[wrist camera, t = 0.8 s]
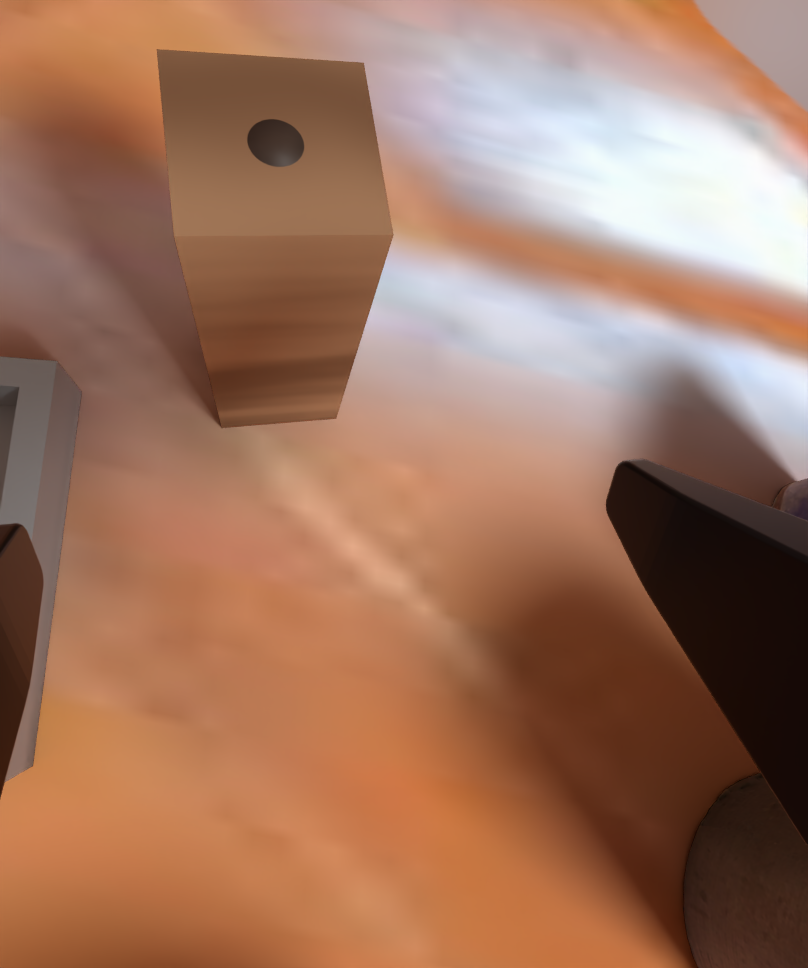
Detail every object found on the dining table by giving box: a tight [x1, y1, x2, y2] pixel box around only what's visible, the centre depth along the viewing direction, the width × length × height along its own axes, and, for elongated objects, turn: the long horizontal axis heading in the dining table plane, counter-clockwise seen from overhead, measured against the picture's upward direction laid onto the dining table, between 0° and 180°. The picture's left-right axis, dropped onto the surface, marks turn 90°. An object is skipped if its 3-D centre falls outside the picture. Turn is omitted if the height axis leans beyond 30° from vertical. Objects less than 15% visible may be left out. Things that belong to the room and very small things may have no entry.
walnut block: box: [157, 49, 393, 428], centre depth 18 cm, size 4×4×12 cm
